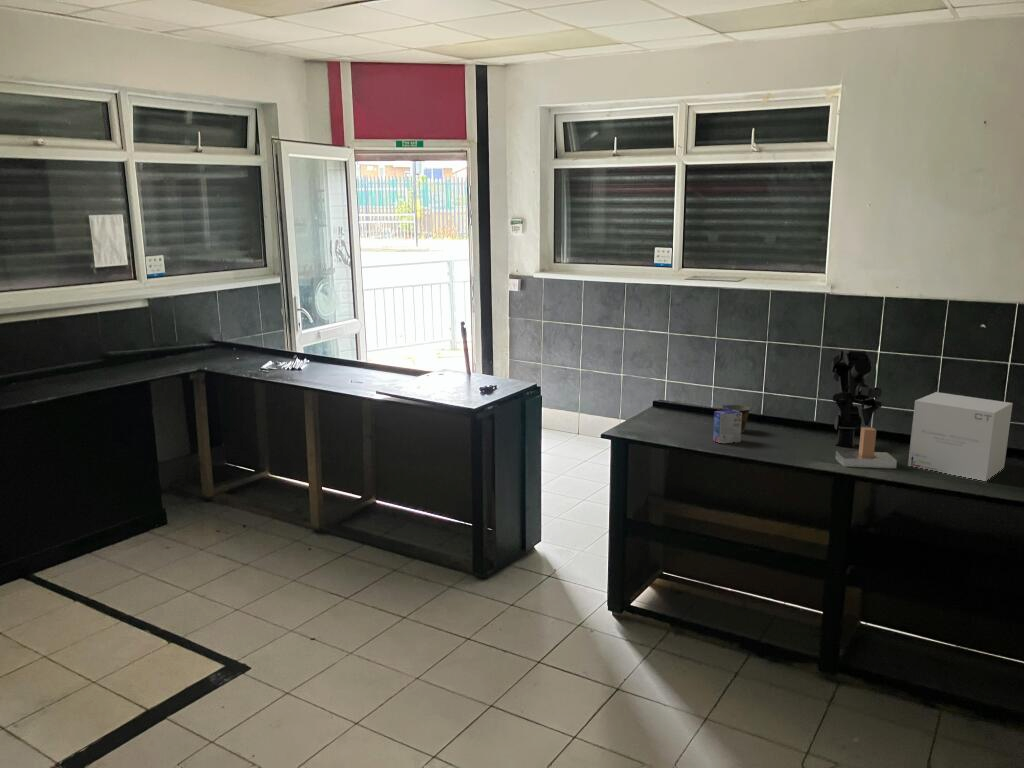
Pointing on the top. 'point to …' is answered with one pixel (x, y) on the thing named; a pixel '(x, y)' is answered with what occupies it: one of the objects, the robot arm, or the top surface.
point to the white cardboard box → (960, 435)
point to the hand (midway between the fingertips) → (857, 423)
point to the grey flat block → (865, 460)
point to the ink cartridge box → (727, 425)
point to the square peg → (867, 442)
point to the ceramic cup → (744, 413)
